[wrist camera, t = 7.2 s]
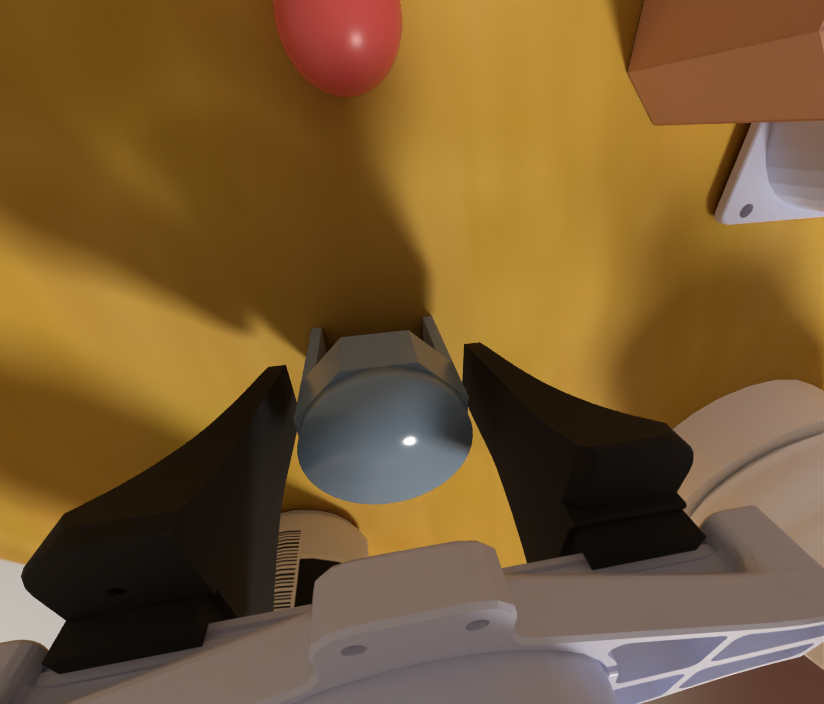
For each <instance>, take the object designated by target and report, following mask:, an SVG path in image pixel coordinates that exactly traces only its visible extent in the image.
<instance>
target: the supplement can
mask: <svg viewBox="0 0 824 704" xmlns="http://www.w3.org/2000/svg"><path fill="white" fill-rule="evenodd" d="M364 557H368V544H367V539H366V538H365V536H364V535H363V534H362V533H361V532H360V530H359V529H358V528H356V527H354V526H353V525H352V524H351V523H350V521H348V520H346V519H344V518H342V517H340V516H338V515H336V514H333V513H328V512H323V511H319V510H292V511H288V512H284V513H281V517H280V526H279V537H278V549H277V561H276V576H275V591H274V611H278V610H283V609H288V608H294V607H299V606H304V605H309V604H312V601H313V591H314V584H315V581H316V580H317V579H318V578H319V577H320V576H321V575H323V574H324V573H325V572H326V571H328V570H329V569H330V568H331V567H332V566H335V565H338V564H341V563H344V562H347V561H350V560H353V559H358V558H364Z"/></svg>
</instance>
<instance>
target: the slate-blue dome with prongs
mask: <svg viewBox="0 0 824 704" xmlns="http://www.w3.org/2000/svg"><path fill="white" fill-rule="evenodd" d="M468 398H469V397H468V395H467V393H466V390H465V388H464V386H463V384H462V382H461V379H460V377H459V375H458V373H457V370H456V368H455V366H454V364H453V362H452V359H451V357H450V355H449V353H448V351H447V348H446V346H445V344H444V342H443V339H442V337H441V335H440V333H439V331H438V328H437V326H436V324H435V322H434V320H433V317H432V316H426V317H423V341H422V340H421V339H420V338H418V337H417V336H416V335H414V334H413V333H412V332H410V331H409V330H403V331H394V332H385V333H375V334H366V335H357V336H348V337H340V339H339V340H338V341H337V342H336V343H335V344H334V345H333V346H332V348H331V349H330V350H329V351H328V352H326V347H325V342H324V337H323V332H322V328H312V329H311V334H310V339H309V344H308V349H307V355H306V360H305V365H304V370H303V375H302V380H301V385H300V390H299V396H298V401H297V406H296V411H295V416H294V423H295V426H296V429H297V432H298V436H299V439H298V445H297V455H298V459H299V463H300V466H301V468H302V470H303V472H304V473H305V475H306V476H307V478H308V479H309V480H310V481H311V482H312V483H313V484H314V485H315V486H317V487H318V488H319V489H321V490H322V491H324V492H326V493H327V494H329V495H331V496H334V497H336V498H339V499H342V500H345V501H350V502H354V503H361V504H387V503H395V502H400V501H405V500H408V499H412V498H415V497H417V496H420V495H423V494H425V493H427V492H429V491H431V490H433V489H435V488H436V487H438V486H440V485H441V484H442V483H444V482H445V481H447V480H448V479H449V478H450V477H451V476H452V475H453V474H455V472H456V471H457V470H458V469H459V468H460V467H461V465H462V464H463V462H464V461H465V459H466V457H467V455H468V454H469V451H470V448H471V445H472V438H473V429H472V424H471V421H470V418H469V416H468Z"/></svg>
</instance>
